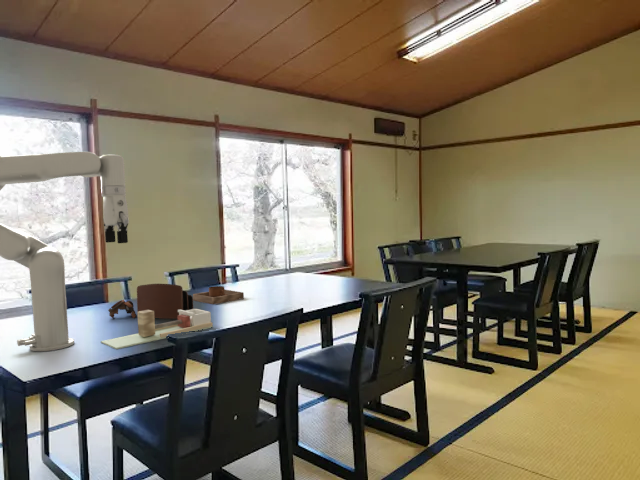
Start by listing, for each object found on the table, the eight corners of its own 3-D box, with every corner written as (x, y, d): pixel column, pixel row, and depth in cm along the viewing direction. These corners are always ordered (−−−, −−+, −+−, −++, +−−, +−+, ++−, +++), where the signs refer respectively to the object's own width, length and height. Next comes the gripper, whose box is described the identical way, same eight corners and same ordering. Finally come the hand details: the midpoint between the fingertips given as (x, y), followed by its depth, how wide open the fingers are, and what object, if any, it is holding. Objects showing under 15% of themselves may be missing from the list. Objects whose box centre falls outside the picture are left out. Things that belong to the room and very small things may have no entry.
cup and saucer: (234, 298, 233) (234, 285, 233) (219, 303, 222) (219, 289, 222) (214, 297, 238) (214, 284, 238) (198, 301, 227) (198, 288, 227)
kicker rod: (144, 337, 160) (143, 313, 160) (137, 334, 164) (136, 311, 163) (190, 327, 173) (189, 305, 172) (183, 325, 176) (181, 303, 176)
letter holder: (183, 319, 191) (181, 283, 190) (137, 318, 194) (135, 284, 193) (194, 313, 200) (192, 280, 200) (150, 313, 204) (148, 280, 203)
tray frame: (213, 304, 219) (213, 297, 218) (193, 300, 230) (192, 294, 230) (243, 298, 231) (243, 292, 230) (223, 295, 243) (222, 289, 242)
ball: (198, 315, 176) (201, 323, 177) (193, 313, 178) (195, 322, 179) (189, 319, 173) (192, 328, 174) (184, 318, 176) (187, 327, 177)
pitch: (116, 349, 150) (115, 329, 150) (100, 342, 159) (99, 323, 158) (212, 327, 175) (212, 310, 175) (195, 322, 184) (194, 306, 183)
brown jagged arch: (133, 321, 192) (120, 304, 190) (114, 331, 194) (101, 314, 192) (144, 307, 204) (132, 291, 201) (126, 317, 205) (114, 301, 203)
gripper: (136, 190, 160) (138, 242, 161) (114, 193, 172) (116, 241, 173) (113, 190, 154) (116, 244, 155) (92, 193, 166) (95, 242, 167)
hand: (116, 242), depth 164 cm, fingers open, 9 cm apart
